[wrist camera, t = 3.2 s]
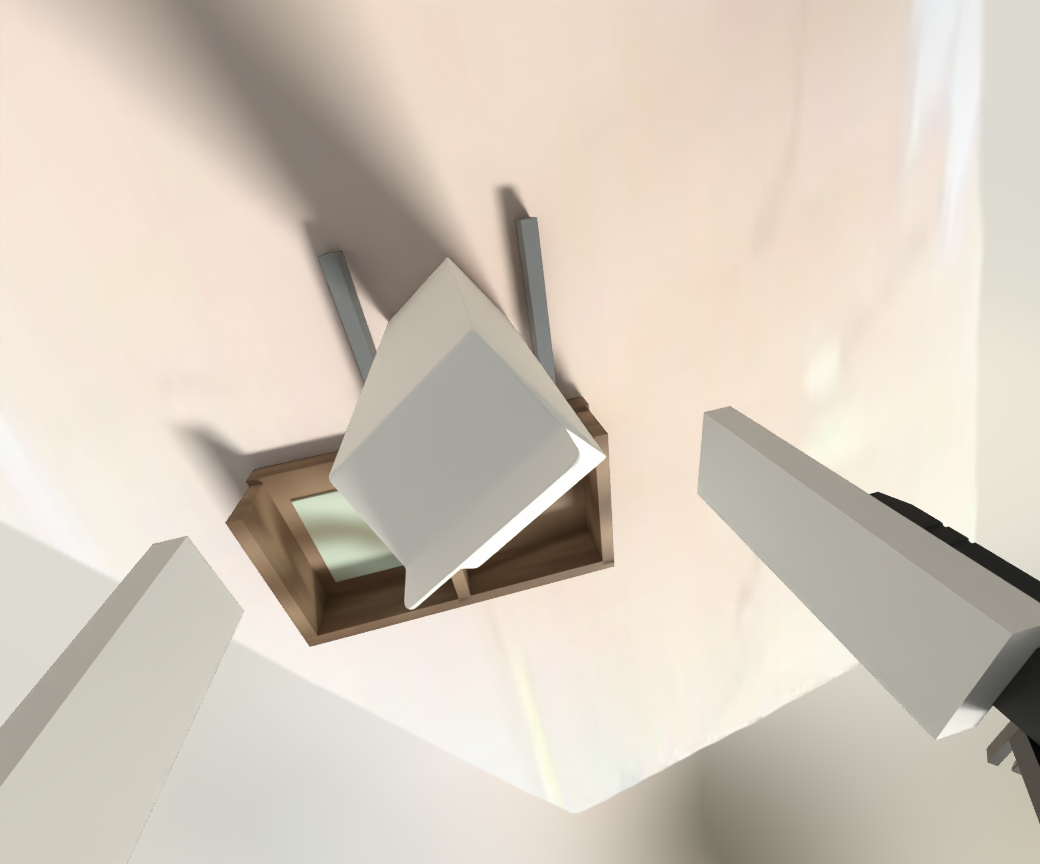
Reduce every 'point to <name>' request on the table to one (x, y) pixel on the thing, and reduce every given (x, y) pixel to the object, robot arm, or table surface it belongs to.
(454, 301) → the milk
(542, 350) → the bracket
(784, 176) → the table surface
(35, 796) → the robot arm
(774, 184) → the table surface
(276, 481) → the box
